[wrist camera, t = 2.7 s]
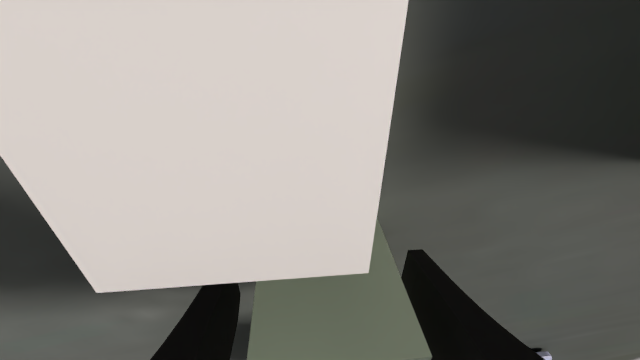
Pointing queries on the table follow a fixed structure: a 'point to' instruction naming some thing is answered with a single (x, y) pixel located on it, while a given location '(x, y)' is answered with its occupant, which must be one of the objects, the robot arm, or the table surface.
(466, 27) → the table surface
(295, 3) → the off-white block
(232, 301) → the robot arm
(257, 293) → the sage green block
